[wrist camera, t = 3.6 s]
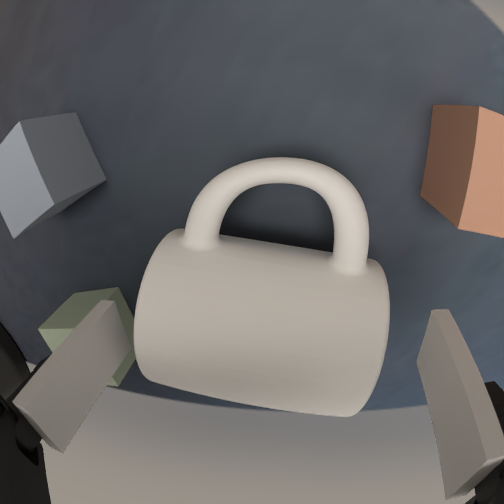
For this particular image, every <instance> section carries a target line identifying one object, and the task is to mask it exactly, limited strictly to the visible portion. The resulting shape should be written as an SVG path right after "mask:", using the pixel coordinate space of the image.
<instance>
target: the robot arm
mask: <svg viewBox="0 0 504 504" xmlns="http://www.w3.org/2000/svg"><path fill="white" fill-rule="evenodd" d="M130 349H131V345H130V343H129V340H128V337H127V335H126V332H125V330H124V327H123V324H122V321H121V319H120V316H119V313H118V310H117V307H116V304H115V301H109V300H101V301H100V302H99V303H98V304H97V305H96V306H95V307H94V308H93V309H92V310H91V311H90V312H89V314H88V315H87V316H86V317H85V318H84V319H83V320H82V321H81V322H80V323H79V324H78V325H77V326H76V328H75V329H74V330H73V331H72V332H71V333H70V334H69V335H68V336H67V337H66V339H65V340H64V341H63V342H62V343H61V344H60V345H59V346H58V348H57V349H56V350H55V351H54V352H53V353H52V354H51V355H49V356H48V357H46V358H45V359H43V360H42V361H40V363H39V364H38V365H37V366H36V367H35V368H34V371H32V372H31V373H30V370H29V368H28V366H27V363H26V361H25V360H24V358H23V356H22V354H21V352H20V351H19V349H18V348H17V346H16V345H15V343H14V342H13V340H12V339H11V337H10V336H9V335H8V333H7V332H6V331H5V329H4V328H3V327H2V325H1V324H0V504H51V500H50V495H49V489H48V483H47V477H46V470H45V462H44V453H43V447H42V445H41V443H40V441H41V439H42V438H43V440H44V441H45V442H46V443H47V444H48V445H49V446H50V447H52V448H54V449H55V450H57V451H59V452H61V453H64V451H65V449H66V447H67V446H68V445H69V443H70V441H71V439H72V438H73V436H74V434H75V433H76V432H77V430H78V428H79V427H80V425H81V424H82V422H83V421H84V419H85V417H86V416H87V414H88V413H89V411H90V410H91V408H92V407H93V405H94V403H95V402H96V400H97V399H98V397H99V396H100V394H101V393H102V391H103V390H104V388H105V387H106V385H107V384H108V382H109V381H110V379H111V378H112V376H113V375H114V373H115V372H116V370H117V369H118V367H119V366H120V364H121V363H122V361H123V360H124V358H125V357H126V355H127V354H128V352H129V351H130ZM416 362H417V366H418V369H419V373H420V376H421V380H422V384H423V387H424V391H425V395H426V399H427V403H428V407H429V411H430V415H431V420H432V424H433V429H434V433H435V438H436V443H437V448H438V453H439V458H440V464H441V470H442V477H443V483H444V490H445V497H446V500H448V499H452V498H456V497H460V496H464V495H467V494H468V493H469V492H470V491H471V490H472V489H473V488H475V494H476V495H475V496H474V497H472V498H471V499H470V500H469V501H467V502H466V503H465V504H504V391H503V390H502V389H501V388H500V387H499V386H498V384H497V383H496V382H495V381H492V382H487V383H484V382H483V380H482V377H481V375H480V373H479V370H478V368H477V366H476V364H475V361H474V359H473V357H472V355H471V353H470V351H469V349H468V346H467V344H466V342H465V340H464V338H463V336H462V334H461V332H460V330H459V328H458V326H457V324H456V322H455V321H454V319H453V317H452V315H451V313H450V311H449V309H440V310H431V314H430V318H429V322H428V325H427V329H426V332H425V336H424V339H423V342H422V345H421V349H420V352H419V355H418V358H417V361H416Z"/></svg>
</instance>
